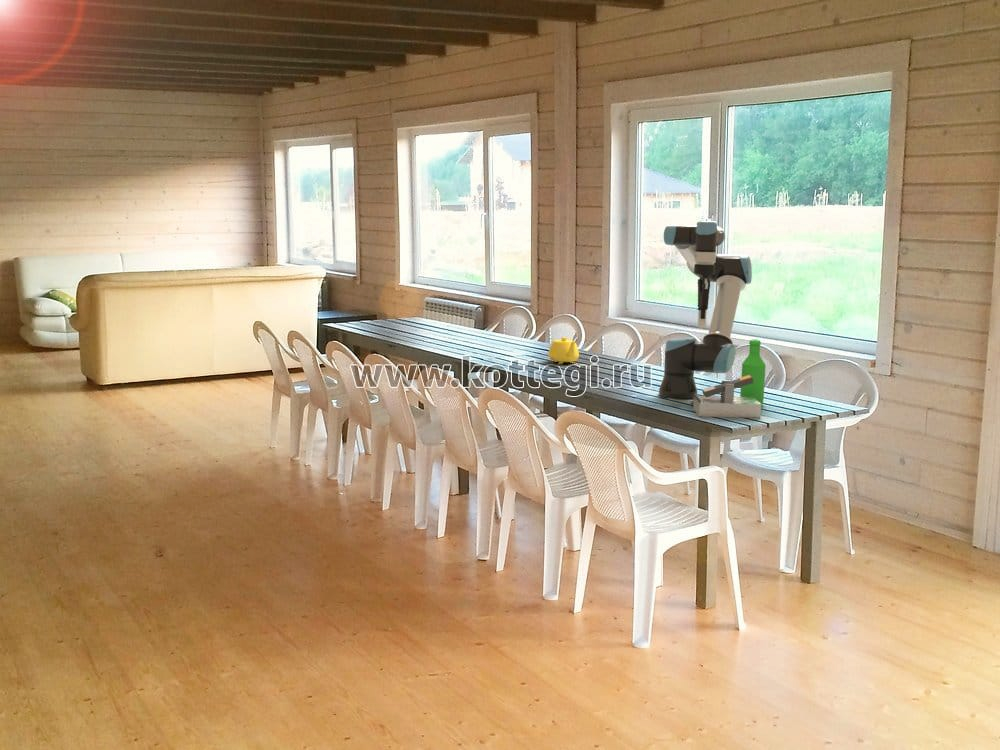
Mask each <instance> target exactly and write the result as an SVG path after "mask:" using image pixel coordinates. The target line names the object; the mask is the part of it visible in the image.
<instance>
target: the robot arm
mask: <svg viewBox="0 0 1000 750" xmlns="http://www.w3.org/2000/svg"><path fill="white" fill-rule="evenodd" d="M725 239H726V232H725V231H724V229H723V228H721V226H718V222H717V221H713V220H711V221H710V220H699V221H697V222H696V225H682V224H681V225H679V224H678V225H677V224H672V225H671V224H669V225H666V226H665V228H664V230H663V242H664V244H665V245H666V246H675V249H676V250H678V252H679V254H681V256H682V257H683V258H684V260H685V261H686V266H687V268H688V269H689V271H690V272H691V273H692V274H693V275H695V276H696V277H697V278H698V279H697V307H698V308H697V311H698V313H697V315H698V317H697V328H699V329H700V328H702V329H705V328H706V326H707V312H708V311H707V310H708V309H709V299H710V289H711V283H716V285H717V287H718V291H717V295H716V299H715V304H714V308H713V312H712V316H711V317H712V318H711V321H710V324H709V325H710V326H709V330H708V333H707V334H705V335H704V336H703V338H702V341H697V339H696V338H695V337H694V336H693V337H691V336H685V337H676V338H669V339H668V340H667V341H666V342H665V349H664V370H663V378H662V381H661V383H660V386H659V389H658V395H659V396H660V397H663V398H666V399H667V398H668V399H675V400H677V399H678V400H679V399H680V400H685V399H689V400H690V399H694V393H695V394H696V395H697V396H698V389H697V385H696V382H695V381H696V380H695V377H694V375H695V373H694V372H701V373H711V374H712V373H713V374H727V373H729V372H730V371H731V370H732V368H733V365H734V362H735V358H736V357H735V356H736V350H737V349H736V346H735V345H734V343H733V340H732V339H731V335H732V332H733V331H732V330H733V326H734V321H735V317H736V311H737V308H738V305H739V299H740V294H741V292H743V290H745V288H746V285H749V284H751V283H752V279H753V275H752V273H753V272H752V271H753V268H752V260H751V258H750V256H748V255H747V254H740V253H739V254H730V253H717V252H716V251H717V247H719V246H720V245H722V244H723V243H724V242H725Z"/></svg>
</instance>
